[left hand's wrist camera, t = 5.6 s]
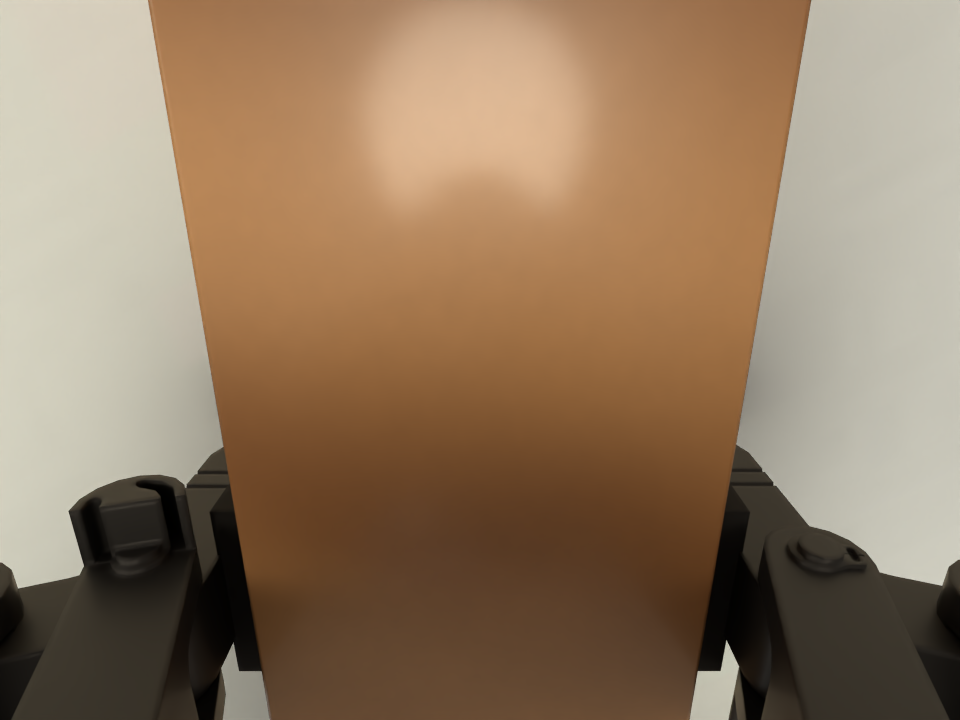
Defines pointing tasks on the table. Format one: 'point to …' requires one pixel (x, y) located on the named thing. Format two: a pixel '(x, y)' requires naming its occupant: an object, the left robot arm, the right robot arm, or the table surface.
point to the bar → (479, 332)
